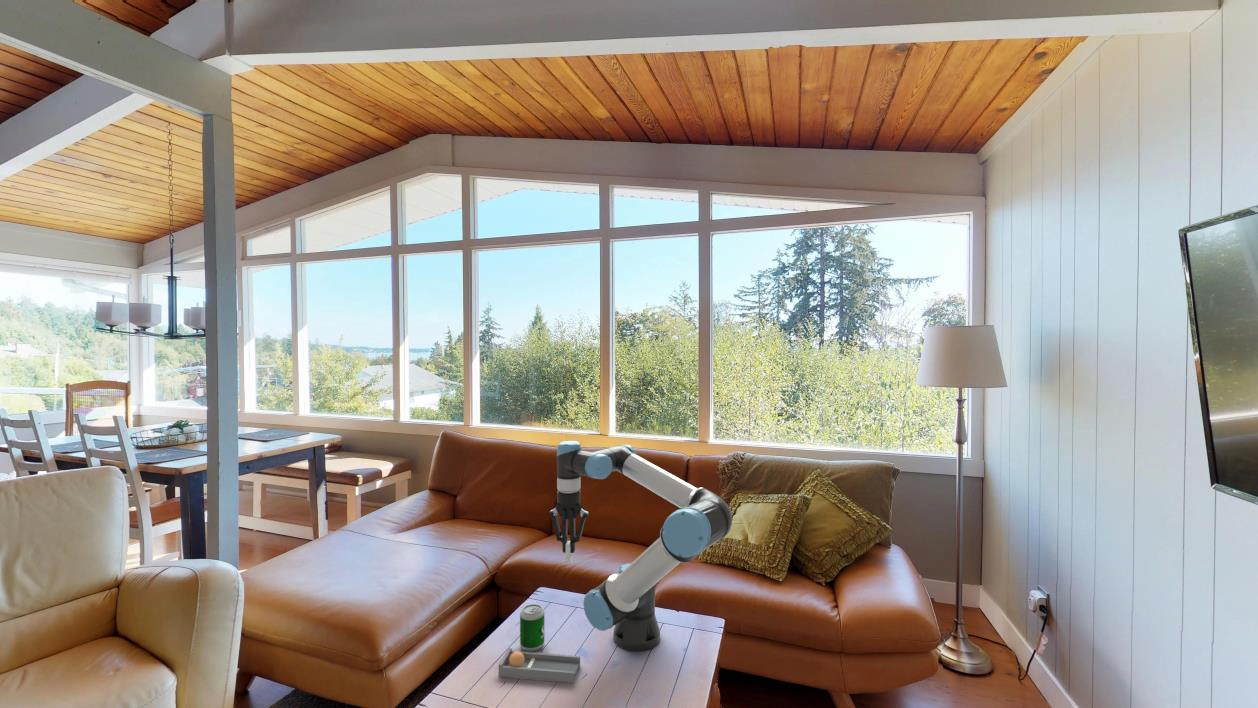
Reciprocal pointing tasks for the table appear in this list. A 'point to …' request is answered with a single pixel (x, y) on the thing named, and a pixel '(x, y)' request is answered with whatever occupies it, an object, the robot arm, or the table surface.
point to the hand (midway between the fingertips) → (568, 562)
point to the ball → (516, 659)
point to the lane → (541, 667)
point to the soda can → (532, 627)
